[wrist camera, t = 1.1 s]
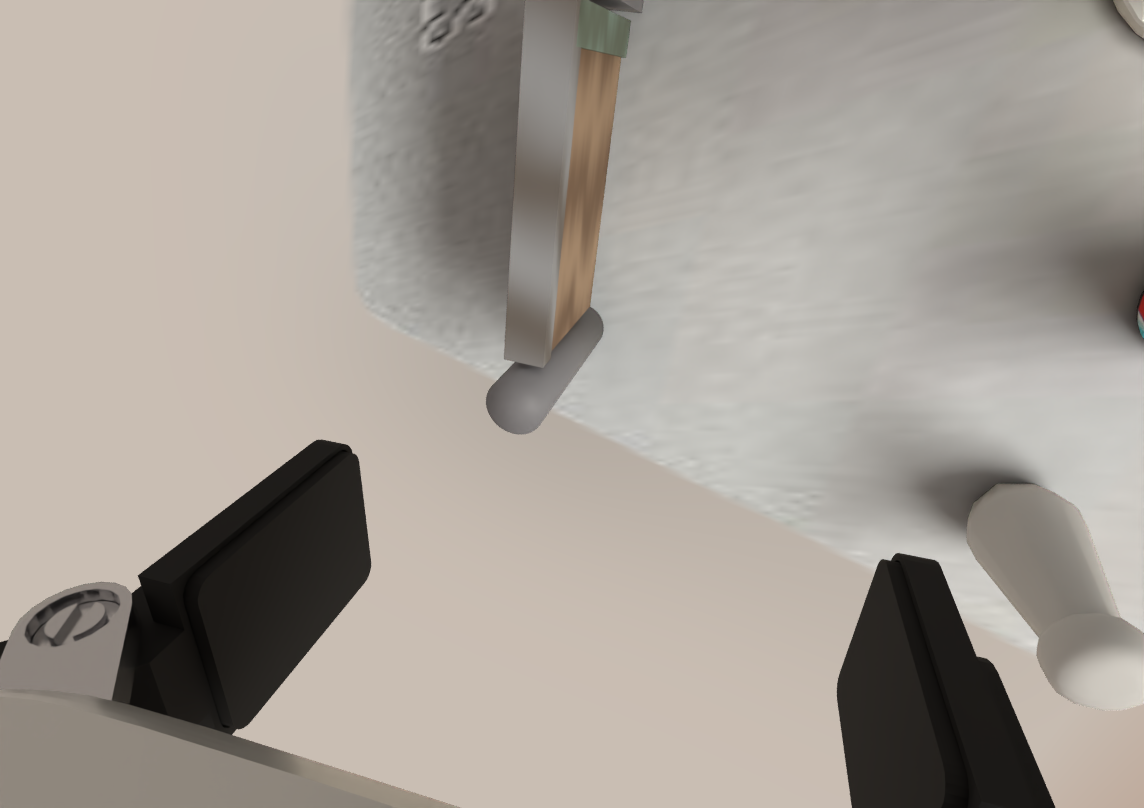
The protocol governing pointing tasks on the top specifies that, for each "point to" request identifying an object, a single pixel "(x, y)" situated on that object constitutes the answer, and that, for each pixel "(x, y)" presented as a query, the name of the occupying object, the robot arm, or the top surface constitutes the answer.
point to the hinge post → (542, 379)
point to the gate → (560, 168)
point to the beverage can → (1141, 314)
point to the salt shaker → (1059, 593)
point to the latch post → (621, 5)
